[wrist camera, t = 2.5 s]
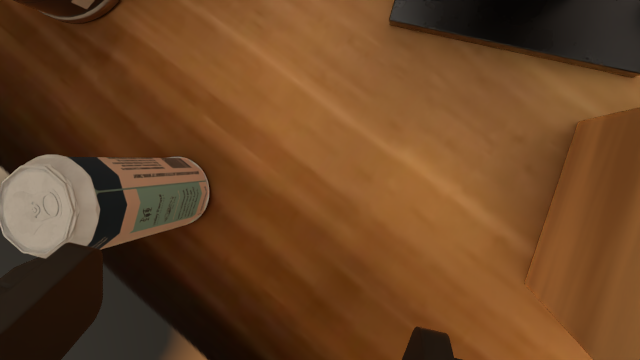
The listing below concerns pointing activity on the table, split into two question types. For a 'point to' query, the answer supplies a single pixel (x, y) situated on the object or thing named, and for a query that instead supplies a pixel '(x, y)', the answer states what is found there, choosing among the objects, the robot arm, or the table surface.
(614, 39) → the shelf stand
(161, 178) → the beer can
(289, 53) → the table surface
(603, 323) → the box
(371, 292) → the table surface
